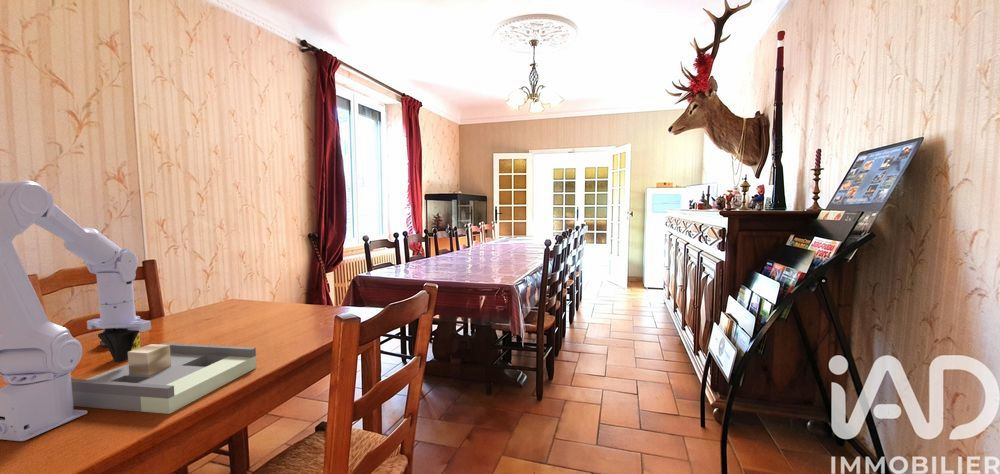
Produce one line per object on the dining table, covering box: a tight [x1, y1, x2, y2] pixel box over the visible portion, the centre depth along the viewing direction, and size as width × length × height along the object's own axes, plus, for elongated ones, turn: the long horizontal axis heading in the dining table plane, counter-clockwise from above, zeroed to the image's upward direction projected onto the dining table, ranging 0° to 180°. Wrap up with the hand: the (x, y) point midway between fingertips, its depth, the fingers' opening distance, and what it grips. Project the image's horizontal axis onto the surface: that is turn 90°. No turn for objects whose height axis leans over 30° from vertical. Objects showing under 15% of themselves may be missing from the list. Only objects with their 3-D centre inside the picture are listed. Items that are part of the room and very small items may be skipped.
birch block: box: [127, 343, 171, 375], centre depth 88 cm, size 5×5×5 cm
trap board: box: [71, 342, 257, 415], centre depth 88 cm, size 22×26×5 cm
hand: (122, 360), depth 89 cm, fingers closed
